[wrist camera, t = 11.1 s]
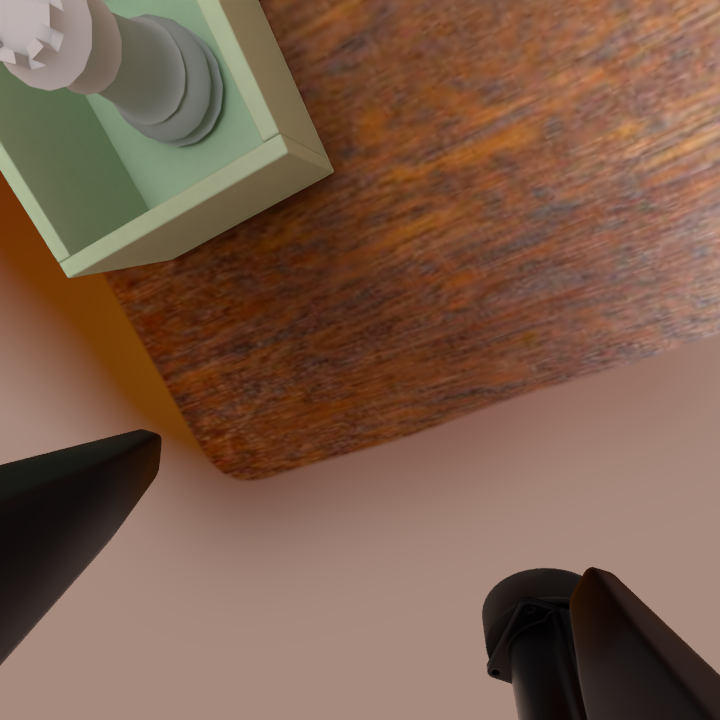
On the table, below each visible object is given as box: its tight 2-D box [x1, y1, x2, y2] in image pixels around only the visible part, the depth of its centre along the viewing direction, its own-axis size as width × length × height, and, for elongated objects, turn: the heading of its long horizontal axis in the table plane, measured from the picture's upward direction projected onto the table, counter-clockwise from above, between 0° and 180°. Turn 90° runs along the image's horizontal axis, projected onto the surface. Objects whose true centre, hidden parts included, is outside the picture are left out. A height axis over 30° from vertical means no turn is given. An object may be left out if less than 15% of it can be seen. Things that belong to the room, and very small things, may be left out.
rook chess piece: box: [0, 0, 223, 147], centre depth 15 cm, size 4×4×8 cm
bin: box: [0, 0, 334, 278], centre depth 16 cm, size 11×9×7 cm
